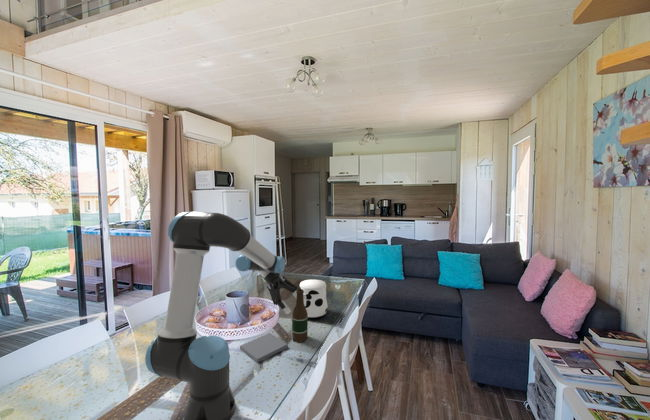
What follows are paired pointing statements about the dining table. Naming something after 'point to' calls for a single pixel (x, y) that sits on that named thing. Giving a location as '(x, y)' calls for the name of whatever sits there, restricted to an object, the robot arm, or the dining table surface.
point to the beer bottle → (299, 319)
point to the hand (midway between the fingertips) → (296, 307)
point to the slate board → (263, 347)
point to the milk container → (314, 297)
